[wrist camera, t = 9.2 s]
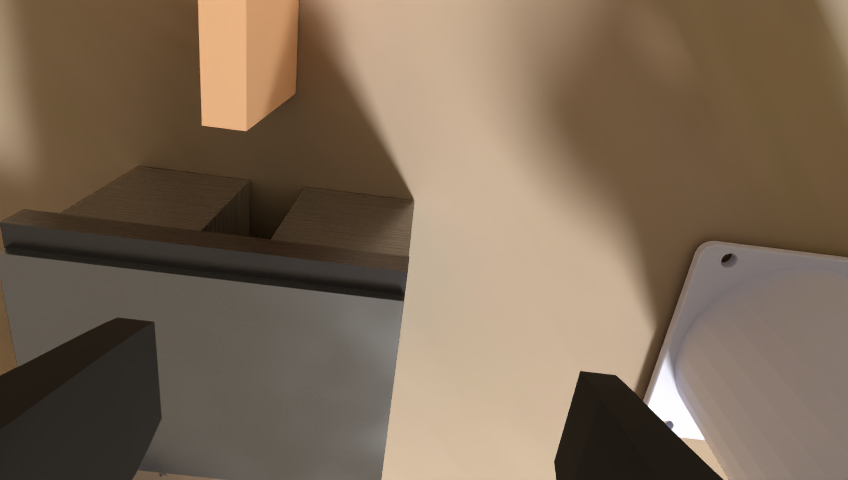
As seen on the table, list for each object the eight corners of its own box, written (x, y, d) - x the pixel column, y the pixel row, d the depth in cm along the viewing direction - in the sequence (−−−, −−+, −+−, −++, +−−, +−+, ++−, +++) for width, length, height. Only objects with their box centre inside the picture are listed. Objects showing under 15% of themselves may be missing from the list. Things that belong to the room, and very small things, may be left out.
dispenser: (416, 183, 19) (406, 277, 13) (395, 351, 21) (379, 496, 15) (136, 148, 18) (-11, 227, 12) (150, 323, 21) (35, 459, 15)
